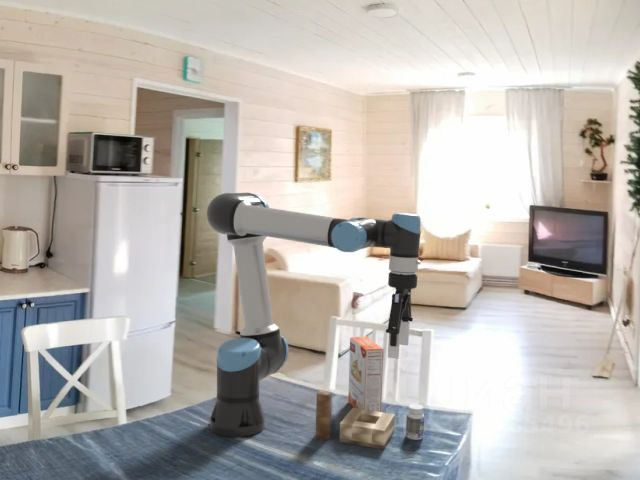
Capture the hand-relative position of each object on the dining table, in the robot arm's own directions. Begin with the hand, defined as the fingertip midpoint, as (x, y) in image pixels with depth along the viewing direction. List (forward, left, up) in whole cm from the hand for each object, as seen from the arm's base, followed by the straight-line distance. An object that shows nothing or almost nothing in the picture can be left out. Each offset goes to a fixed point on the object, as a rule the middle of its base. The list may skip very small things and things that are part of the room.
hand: (398, 351), depth 158 cm
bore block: (-7, -3, -24) cm, 25 cm away
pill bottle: (+5, +3, -24) cm, 25 cm away
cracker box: (-13, +15, -24) cm, 31 cm away
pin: (-18, -8, -24) cm, 31 cm away
